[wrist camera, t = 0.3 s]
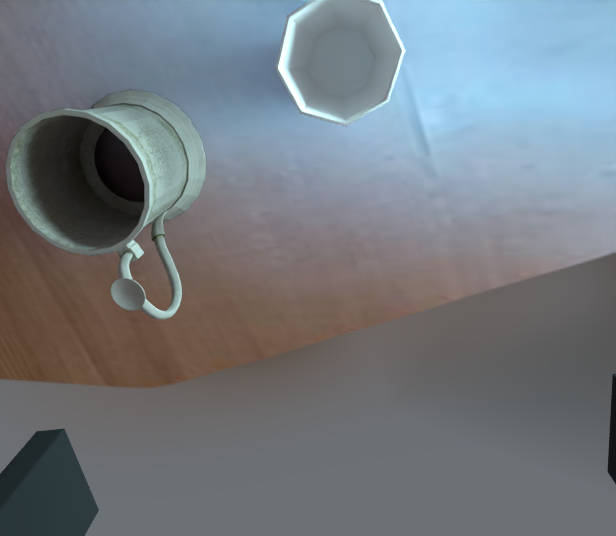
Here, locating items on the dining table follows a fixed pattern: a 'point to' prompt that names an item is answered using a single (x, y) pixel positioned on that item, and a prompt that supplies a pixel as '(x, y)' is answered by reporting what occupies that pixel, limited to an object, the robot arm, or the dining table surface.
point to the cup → (339, 58)
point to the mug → (92, 191)
